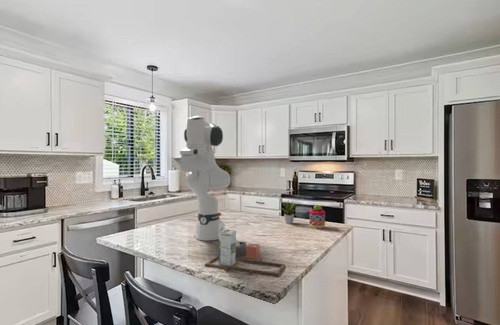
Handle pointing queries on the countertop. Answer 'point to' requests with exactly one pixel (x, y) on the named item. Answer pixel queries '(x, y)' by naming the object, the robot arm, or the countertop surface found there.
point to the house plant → (289, 212)
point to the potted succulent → (317, 217)
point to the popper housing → (241, 249)
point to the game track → (247, 269)
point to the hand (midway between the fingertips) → (196, 181)
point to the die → (252, 250)
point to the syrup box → (227, 247)
